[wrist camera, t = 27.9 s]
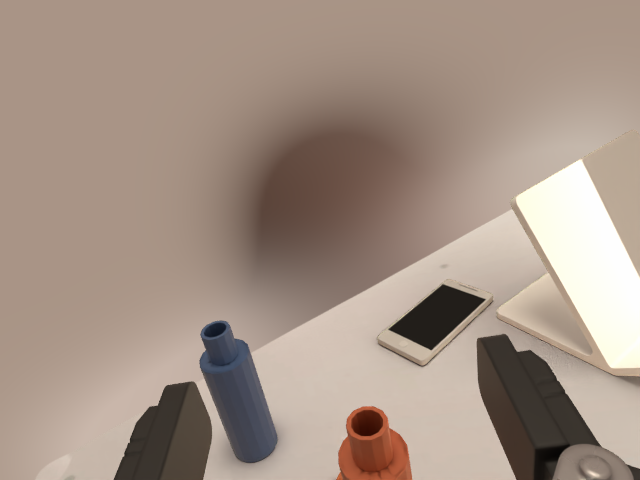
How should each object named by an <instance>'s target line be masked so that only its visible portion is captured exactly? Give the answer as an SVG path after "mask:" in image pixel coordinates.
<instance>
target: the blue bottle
mask: <svg viewBox="0 0 640 480" xmlns="http://www.w3.org/2000/svg"><path fill="white" fill-rule="evenodd" d="M201 338H202V340H203V343H204V346H205V348H206V351H205V352H204V353H203V354H202V356H201V358H200V368H201V371H202V373H203V375H204V378H205V381H206V383H207V386H208V388H209V391H210V393H211V396H212V398H213V401H214V403H215V406H216V408H217V411H218V414H219V416H220V419H221V421H222V424H223V426H224V429H225V431H226V434H227V436H228V439H229V441H230V444H231V446H232V449H233V451H234V453H235V455H236V457H237V458H238V459H240V460H241V461H244V462H250V463H251V462H257V461H260V460H262V459H264V458H266V457H267V456H268V455H269V454H270V453H271V452H272V451H273V450H274V448H275V446H276V443H277V434H276V430H275V427H274V424H273V421H272V418H271V415H270V412H269V408H268V405H267V402H266V399H265V396H264V393H263V390H262V387H261V384H260V381H259V378H258V375H257V371H256V368H255V365H254V362H253V359H252V356H251V353H250V350H249V347H248V344H246V343H245V342H244V341H243V340H239V339H234V336H233V333H232V330H231V327H230V325H229V324H228V323H227V322H226V321H215V322H212V323H211V324H208V325H206V326H205V327H204V328H203V329H202V331H201Z"/></svg>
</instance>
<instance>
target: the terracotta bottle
mask: <svg viewBox="0 0 640 480" xmlns="http://www.w3.org/2000/svg"><path fill="white" fill-rule="evenodd" d="M346 429H347V433H348V437H347V438H346V439H345V440H344V441H343V443H342V445H341V447H340V450H339V452H338V456H339V467H340V471H341V475H342V479H343V480H412V475H411V468H410V460H409V454H408V448H407V444H406V443H405V441H404V440H403V438H402V437H401V435H400V434H398V433H396V432H395V431H393V430H392V429H390V428H389V423H388V418H387V417H386V415H385V414H384V412H383V411H382V410H380V409H378V408H376V407H373V406H372V407H361V408H359V409H356V410H354V411H353V412H352V413H351V414H350V416H349V417H348V418H347V424H346Z"/></svg>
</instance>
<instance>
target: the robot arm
mask: <svg viewBox="0 0 640 480" xmlns="http://www.w3.org/2000/svg"><path fill="white" fill-rule="evenodd" d="M477 365H478V383H479V389H480V393H481V396H482V399H483V402H484V405H485V407H486V409H487V412H488V414H489V416H490V419H491V421H492V423H493V426H494V428H495V430H496V433H497V435H498V437H499V440H500V442H501V444H502V447H503V449H504V451H505V454H506V456H507V458H508V461H509V463H510V466H511V468H512V470H513V473H514V475H515V477H516V480H640V469H639V468H635V467H632V466H630V465H627V464H625V462H624V461H623V460H622V459H620V458H619V457H618V456H617V455H615V454H614V453H612V452H610V451H609V450H607V449H604V448H602V447H601V445H600V444H599V443H598V441H597V440H596V438H595V437H594V435H593V434H592V432H591V431H590V429H589V428H588V426H587V424H586V423H585V421H584V420H583V418H582V417H581V415H580V414H579V412H578V410H577V409H576V407H575V406H574V404H573V403H572V401H571V400H570V398H569V396H568V395H567V394H565V390H564V389H563V387H562V386H561V384H560V382H559V381H557V378H556V376H555V375H554V373H553V372H552V370H551V368H550V367H549V365H548V364H547V362H545V361H544V360H543V359H541V358H540V357H539V356H537V355H536V354H535V353H533V352H532V351H531V350H528V351H521V352H517V351H516V350H515V348H514V346H513V344H512V343H511V341H510V339H509V338H508V336H507V335H506V334H502V335H496V336H489V337H483V338H478V339H477ZM211 440H212V426H211V420H210V417H209V415H208V412H207V410H206V407H205V405H204V402H203V400H202V397H201V395H200V393H199V390H198V388H197V385H196V384H195V383H194V382H185V383H179V384H172V385H167V386H166V387H165V388H164V390H163V393H162V396H161V399H160V401H159V404H158V406H152V407H149V408H148V409H147V411H146V412H145V413H144V414H143V415H142V417H141V418H140V419H139V420H138V422H137V423H136V425H135V428H134V430H133V433H132V435H131V438H130V443H128V445H127V448H126V450H125V453H124V454H125V456H124V457H123V458H122V460H121V463H120V465H119V468H118V470H117V473H116V475H115V478H114V480H203V477H204V473H205V468H206V463H207V459H208V454H209V449H210V445H211Z"/></svg>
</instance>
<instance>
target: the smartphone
mask: <svg viewBox="0 0 640 480" xmlns="http://www.w3.org/2000/svg"><path fill="white" fill-rule="evenodd" d="M492 301H493V294H492V293H489V292H486V291H483V290H480V289H477V288H474V287H471V286H469V285H466V284H463V283H460V282H457V281H454V280H451V279H447V280H445V281H444V282H443V283H442V284H440V285H439V286H438V287H437V288H436V289H434V290H433V291H432V292H431V293H430V294H428V295H427V296H426V297H425V298H423V299H422V300H421V301H420V302H419V303H417V304H416V305H415V306H414V307H412V308H411V309H410V310H409V311H408V312H406V313H405V314H404V315H403V316H402V317H400V318H399V319H398V320H397V321H395V322H394V323H393V324H392V325H391V326H389V327H388V328H387V329H386V330H385V331H383V332H382V333H381V334H380V335H379V336H378V337H377V340H378V343H379V344H381V345H382V346H384V347H386V348H388V349H390V350H392V351H394V352H396V353H398V354H400V355H402V356H404V357H406V358H408V359H409V360H411V361H413V362H415V363H417V364H419V365H421V366H423V365H425V364H427V363H428V362H429V361H430V360H431V359H432V358H433V357H434V356H435V355H436V354H437V353H438V352H439V351H440V350H441V349H442V348H443V347H445V346H446V345H447V344H448V343H449V342H450V341H451V340H452V339H453V338H454V337H455V336H456V335H457V334H458V333H459V332H460V331H461V330H462V329H464V328H465V327H466V326H467V325H468V324H469V323H470V322H471V321H472V320H473V319H474V318H475V317H476V316H477V315H478V314H479V313H480V312H481V311H482V310H484V309H485V308H486V307H487V306H488V305H489V304H490V303H491V302H492Z"/></svg>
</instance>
